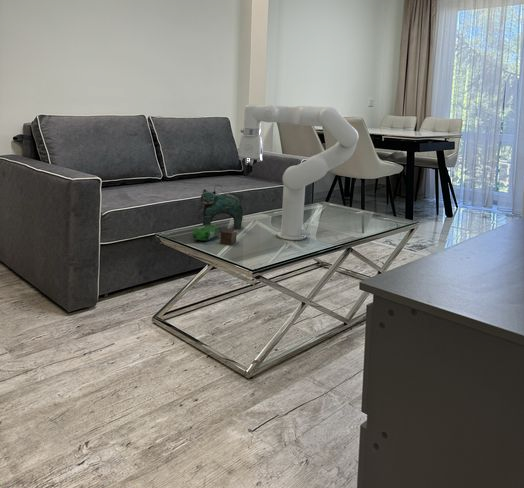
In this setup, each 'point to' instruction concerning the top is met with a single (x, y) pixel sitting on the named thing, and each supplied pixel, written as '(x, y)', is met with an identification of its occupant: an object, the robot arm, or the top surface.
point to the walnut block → (228, 236)
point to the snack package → (205, 232)
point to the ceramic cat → (221, 206)
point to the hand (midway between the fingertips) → (249, 173)
